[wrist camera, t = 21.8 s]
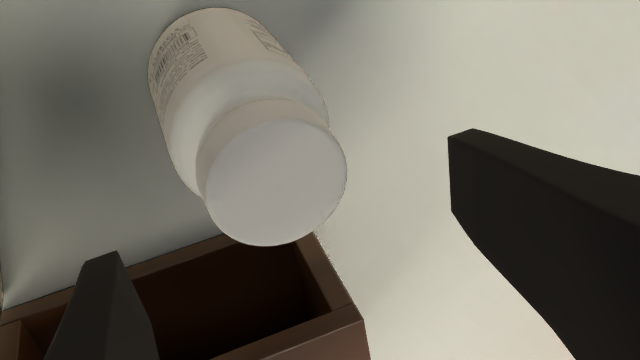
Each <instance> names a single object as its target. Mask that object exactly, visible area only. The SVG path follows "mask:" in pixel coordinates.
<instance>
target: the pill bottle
mask: <svg viewBox="0 0 640 360" xmlns="http://www.w3.org/2000/svg"><path fill="white" fill-rule="evenodd" d="M148 80H149V87H150V91H151V94H152V98H153V102H154V105H155V108H156V112H157V115H158V118H159V122H160V125H161V129H162V132H163V135H164V138H165V141H166V145H167V149H168V152H169V155H170V157H171V160H172V163H173V165H174V168H175V170H176V171H177V173H178V175H179V177H180V178H181V179H182V181H183V182H184V183H185V185H186V186H187V187H188V188H189V189H190V190H192V191H193V192H194V193H195V194H196V195H198V196H199V197H201V198H202V199H203V201H204V204H205V206H206V208H207V210H208V213H209V215H210V217H211V218H212V220H213V221H214V223H215V224H216V225H217V227H218V228H219V229H220V230H221V231H222V232H224V233H225V234H226V235H228V236H229V237H231V238H233V239H235V240H237V241H239V242H242V243H245V244H248V245H255V246H275V245H280V244H286V243H289V242H292V241H295V240H297V239H300V238H302V237H304V236H305V235H307V234H309V233H311V232H312V231H314V230H315V229H317V228H318V227H319V226H320V225H321V224H322V223H324V222H325V221H326V220H327V219H328V218H329V216H330V215H331V214H332V213H333V211H334V210H335V208H336V207H337V205H338V203H339V201H340V199H341V197H342V195H343V192H344V189H345V185H346V180H347V164H346V159H345V155H344V153H343V150H342V148H341V146H340V144H339V143H338V141H337V140H336V138H335V137H334V135H333V134H332V133H331V131H330V130H329V118H328V112H327V109H326V106H325V103H324V100H323V98H322V95H321V94H320V92H319V90H318V89H317V87H316V86H315V84H314V83H313V81H312V80H311V79H310V78H309V76H308V75H307V74H306V73H305V72H304V70H303V69H302V68H301V67H300V66H299V65H298V64H297V63H296V62H295V60H294V59H293V58H292V57H291V56H290V55H289V54H288V53H287V52H286V51H285V50H284V48H283V47H282V46H281V45H280V44H279V43H278V42H277V41H276V39H275V38H274V37H273V36H272V35H271V34H270V33H269V32H268V31H267V30H266V29H265V28H264V27H263V26H262V25H261V24H260V23H259V22H257V21H256V20H255V19H253V18H252V17H250V16H248V15H247V14H245V13H242V12H239V11H236V10H232V9H228V8H207V9H201V10H197V11H194V12H191V13H189V14H187V15H184V16H182V17H180V18H179V19H178V20H176V21H175V22H174V23H172V24H171V25H170V26H169V27H168V28H167V29H166V30H165V31H164V32H163V33H162V35H161V36H160V38H159V39H158V41H157V43H156V44H155V46H154V48H153V50H152V53H151V56H150V60H149V69H148Z"/></svg>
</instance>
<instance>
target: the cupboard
mask: <svg viewBox="0 0 640 360" xmlns="http://www.w3.org/2000/svg"><path fill="white" fill-rule="evenodd" d="M126 270H127V273H128V275H129V277H130V279H131V281H132V283H133V285H134V287H135V290H136V292H137V294H138V296H139V298H140V300H141V302H142V305H143V307H144V309H145V311H146V313H147V315H148V317H149V319H150V322H151V325H152V329H153V334H154V338H155V342H156V346H157V351H158V355H159V360H371V358H370V352H369V347H368V341H367V335H366V330H365V324H364V319H363V317H362V315H361V314H360V312H359V310H358V308H357V307H356V305H355V304H354V302H353V300H352V298H351V297H350V295H349V293H348V292H347V290H346V288H345V286H344V285H343V283H342V281H341V279H340V278H339V276H338V274H337V273H336V271H335V269H334V267H333V266H332V264H331V262H330V260H329V259H328V257H327V255H326V254H325V252H324V250H323V248H322V247H321V245H320V243H319V241H318V240H317V238H316V236H315V235H314V233H313V231H312V232H311V233H309V234H307V235H305V236H304V237H302V238H300V239H297V240H295V241H292V242H289V243H286V244H280V245H275V246H255V245H248V244H245V243H242V242H239V241H237V240H235V239H233V238H231V237H229V236H228V235H226V234H223V235H220V236H217V237H214V238H211V239H208V240H205V241H202V242H200V243H197V244H194V245H191V246H188V247H185V248H182V249H180V250H177V251H174V252H171V253H168V254H165V255H162V256H160V257H157V258H154V259H151V260H148V261H145V262H142V263H140V264H137V265H134V266H131V267H128V268H126ZM74 287H75V286H74ZM74 287H71V288H68V289H65V290H62V291H59V292H57V293H54V294H51V295H48V296H45V297H42V298H39V299H36V300H34V301H31V302H28V303H25V304H22V305H19V306H16V307H14V308H11V309H8V310H5V311H2V316H1V324H0V360H43V359H44V357H45V355H46V353H47V351H48V349H49V347H50V345H51V342H52V340H53V338H54V336H55V333H56V331H57V329H58V327H59V324H60V322H61V320H62V317H63V315H64V313H65V310H66V308H67V305H68V303H69V300H70V298H71V295H72V293H73V290H74Z"/></svg>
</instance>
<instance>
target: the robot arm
mask: <svg viewBox="0 0 640 360" xmlns="http://www.w3.org/2000/svg"><path fill="white" fill-rule="evenodd" d="M448 155H449V175H450V195H451V212H452V213H453V214H454V216H455V217H456V219H457V220H458V222H459V223H460V225H461V226H462V228H463V229H464V231H465V232H466V234H467V235H468V236H469V238H470V239H471V240H472V242H473V243H474V245H475V246H476V247H477V248H478V249H479V250H480V251H481V253H482V254H483V255H484V256H485V257H486V258H487V259H488V260H489V261H490V262H491V263H492V264H493V266H494V267H495V268H496V269H497V270H498V271H499V272H500V273H501V274H502V275H503V276H504V277H505V278H506V279H507V280H508V281H509V283H510V284H511V285H512V286H513V287H514V288H515V289H516V290H517V291H518V292H519V293H520V294H521V295H522V296H523V297H524V298H525V299H526V301H527V302H528V303H529V304H530V305H531V306H532V307H533V308H534V309H535V310H536V311H537V312H538V313H539V314H540V315H541V317H542V318H543V319H544V320H545V321H546V322H547V323H548V325H549V326H550V327H551V328H552V329H553V330H554V332H555V333H556V334H557V336H558V337H559V338H560V340H561V341H562V342H563V344H564V345H565V346H566V347H567V349H568V350H569V351H570V353H571V354H572V355H573V357H574V358H575V359H576V360H640V176H639V175H633V174H629V173H624V172H620V171H615V170H611V169H608V168H604V167H600V166H596V165H592V164H588V163H585V162H581V161H578V160H574V159H571V158H567V157H564V156H561V155H557V154H554V153H551V152H548V151H545V150H541V149H538V148H535V147H532V146H529V145H526V144H523V143H520V142H517V141H514V140H511V139H508V138H505V137H501V136H498V135H495V134H492V133H488V132H485V131H481V130H477V129H473V128H472V129H469V130H466V131H463V132H461V133H458V134H455V135H452V136H449V137H448ZM43 360H159V355H158V351H157V346H156V342H155V338H154V334H153V329H152V325H151V322H150V319H149V317H148V315H147V313H146V311H145V309H144V307H143V305H142V302H141V300H140V298H139V296H138V294H137V292H136V290H135V287H134V285H133V283H132V281H131V279H130V277H129V275H128V273H127V270H126V268H125V266H124V264H123V262H122V260H121V258H120V256H119V253H118V251H117V250H116V251H113V252H110V253H108V254H105V255H102V256H99V257H96V258H93V259H90V260H87V261H85V263H84V265H83V267H82V269H81V271H80V274H79V277H78V279H77V282H76V285H75V287H74V290H73V293H72V295H71V298H70V300H69V303H68V305H67V308H66V310H65V313H64V315H63V317H62V320H61V322H60V324H59V327H58V329H57V331H56V333H55V336H54V338H53V340H52V342H51V345H50V347H49V349H48V351H47V353H46V355H45V357H44V359H43Z"/></svg>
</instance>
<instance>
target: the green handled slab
mask: <svg viewBox="0 0 640 360" xmlns="http://www.w3.org/2000/svg"><path fill="white" fill-rule="evenodd" d="M3 301H4V300H3V289H2V278H1V267H0V324H1V316H2V309H3Z"/></svg>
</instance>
